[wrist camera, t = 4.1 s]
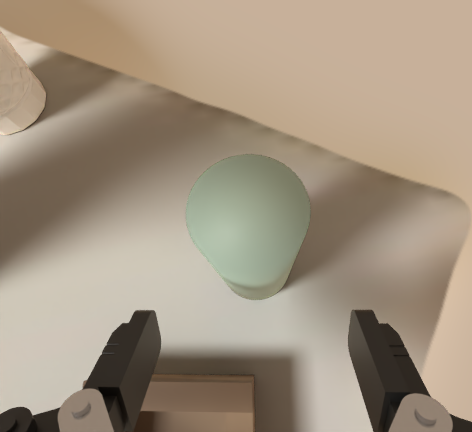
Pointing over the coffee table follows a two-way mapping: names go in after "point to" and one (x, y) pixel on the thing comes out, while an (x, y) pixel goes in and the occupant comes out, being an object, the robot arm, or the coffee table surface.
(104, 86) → the coffee table surface
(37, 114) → the white cup
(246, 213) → the post
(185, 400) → the socket base
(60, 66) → the coffee table surface
